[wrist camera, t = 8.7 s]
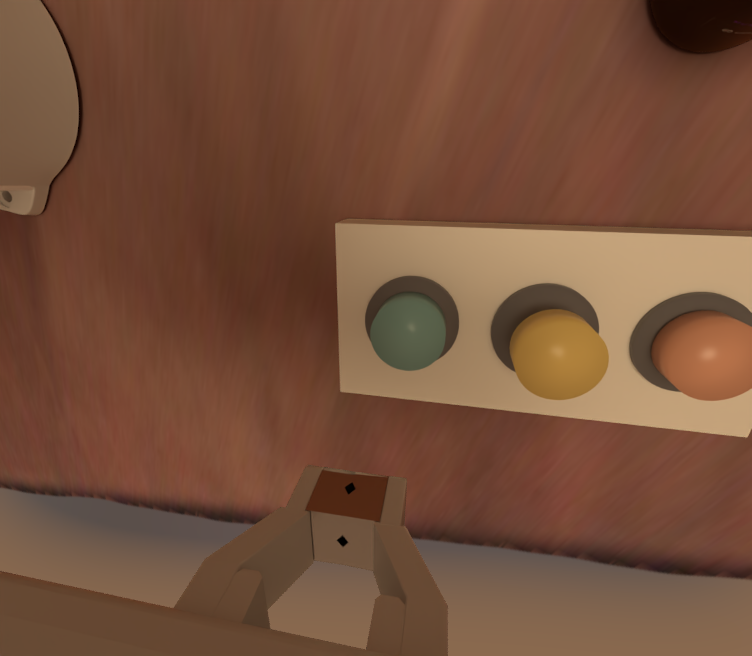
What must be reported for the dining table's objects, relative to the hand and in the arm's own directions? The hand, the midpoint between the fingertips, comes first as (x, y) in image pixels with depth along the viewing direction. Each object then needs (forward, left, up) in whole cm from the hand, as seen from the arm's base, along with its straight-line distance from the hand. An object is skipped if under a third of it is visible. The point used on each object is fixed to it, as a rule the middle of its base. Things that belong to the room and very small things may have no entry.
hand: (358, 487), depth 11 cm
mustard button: (+8, 0, -12) cm, 15 cm away
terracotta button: (+16, 0, -14) cm, 21 cm away
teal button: (0, 0, -14) cm, 14 cm away
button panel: (+8, 0, -18) cm, 19 cm away
